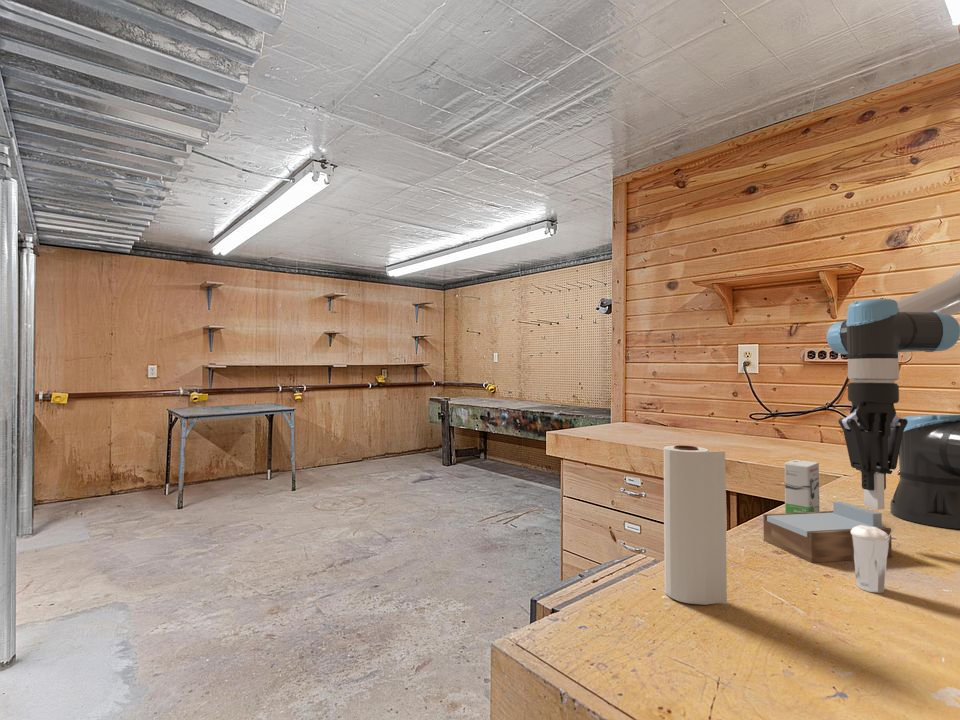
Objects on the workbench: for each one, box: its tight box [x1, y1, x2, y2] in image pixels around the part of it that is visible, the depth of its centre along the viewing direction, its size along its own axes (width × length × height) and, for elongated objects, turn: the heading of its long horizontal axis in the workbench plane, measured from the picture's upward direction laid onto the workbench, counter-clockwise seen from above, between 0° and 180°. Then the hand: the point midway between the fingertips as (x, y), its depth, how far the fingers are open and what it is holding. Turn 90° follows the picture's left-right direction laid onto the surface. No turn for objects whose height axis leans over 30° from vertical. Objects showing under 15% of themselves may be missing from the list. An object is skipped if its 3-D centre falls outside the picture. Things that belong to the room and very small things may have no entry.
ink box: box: [784, 459, 820, 513], centre depth 111 cm, size 9×5×12 cm, turn 131°
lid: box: [767, 501, 887, 537], centre depth 89 cm, size 16×9×3 cm, turn 99°
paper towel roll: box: [663, 444, 728, 606], centre depth 69 cm, size 7×6×21 cm
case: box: [762, 510, 893, 564], centre depth 89 cm, size 16×11×5 cm
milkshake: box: [851, 525, 896, 594], centre depth 72 cm, size 4×5×10 cm
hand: (874, 507), depth 91 cm, fingers closed
